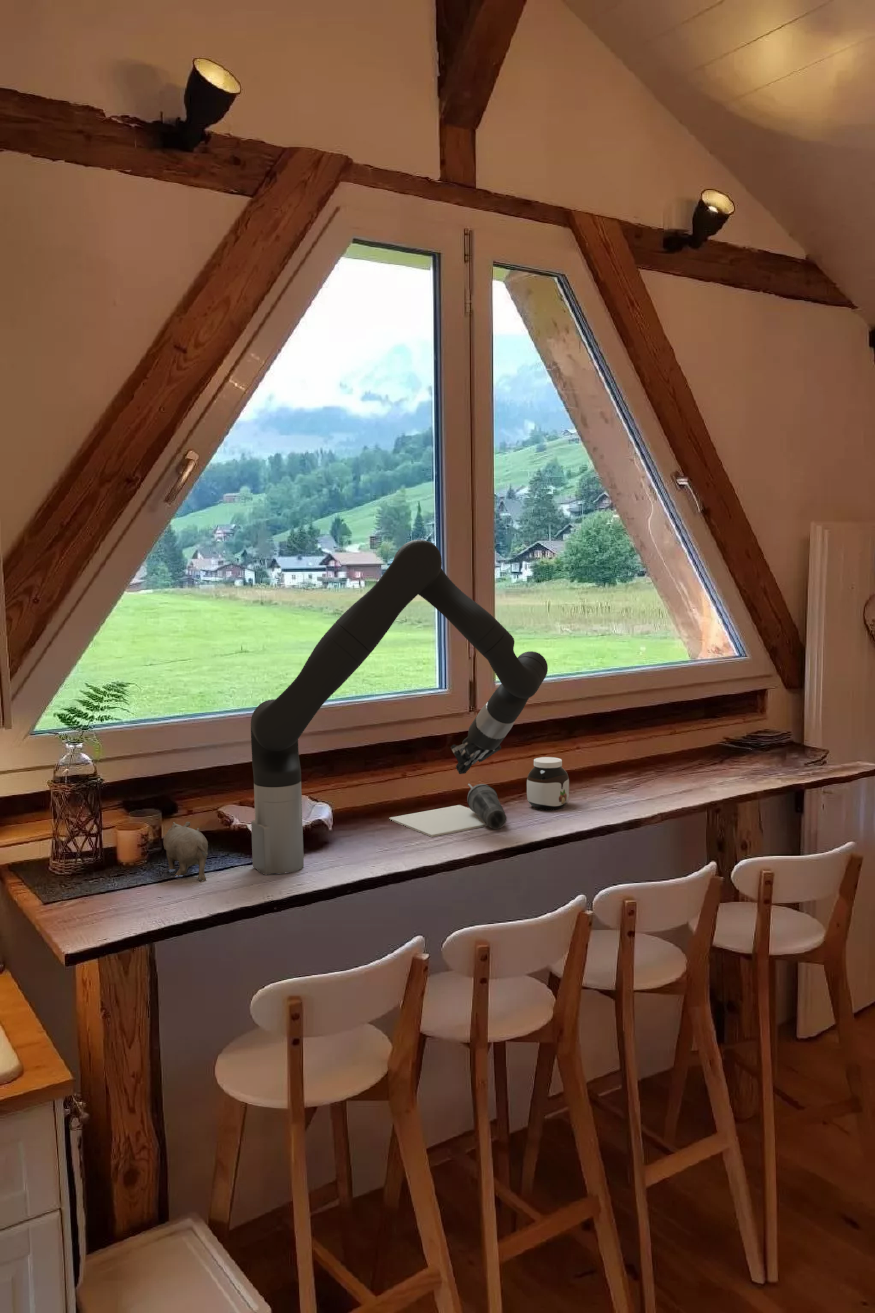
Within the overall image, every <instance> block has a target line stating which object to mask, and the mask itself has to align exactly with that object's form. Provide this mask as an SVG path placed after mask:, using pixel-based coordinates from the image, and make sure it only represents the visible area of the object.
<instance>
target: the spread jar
mask: <svg viewBox="0 0 875 1313" xmlns="http://www.w3.org/2000/svg"><path fill="white" fill-rule="evenodd" d="M568 774H569V773H568V772H567V771H566V770H565V768H564V767H563V759H562V758H559V757H553V756H541V757H536V758H534V759H533V768H531V770H530V771H529V772H528V773H527V778H526V799H527V801H528V803H529V805H530V806H532V807H533V808H534V809H535V810H539V811H550V812H551V811H557V810H561V809H563V807H565V806H566V804H567V803H568V801H569V797H570V796H569V795H570V778H569V775H568Z"/></svg>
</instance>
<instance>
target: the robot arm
mask: <svg viewBox="0 0 875 1313" xmlns="http://www.w3.org/2000/svg"><path fill="white" fill-rule="evenodd" d="M442 564H443V561H442V555H441V552H440V550H439V548H438V546H437V545H436V544H434V543H432V542H431V541H428V540H425V539H413V540H410V541H408V542H406V543H404V544H403V545H402V546H401V547H400V548H399V549H398V550H397V551H396V553H395V555H394V557H393V560H392V561H391V563H390V564H389V566H388V567H387V568H386V570H385V571H384V573H383V574H382V575H381V577H380V578H379V580H377V581H376V583H375V584H374V585H373V586H372V587H371V588H370V589H369V590H368V591H367V592H366V593H365V594H363V596H361V597H360V598H359V599H358V600H356V601H355V603H353V604H352V605H351V606H350V607H349V608H348V609H347V610H346V611H345V612H343V614H342V615H340V617H339V618H338V619H337V620H336V621H335V623H333V624H332V625H331V626H330V628H329V629H328V630H327V631H326V632H325V633H324V635H323V636H322V637H321V638H320V640H319V641H318V643H317V644H316V645H315V647H314V648H313V650H312V651H311V653H310V655H309V657H308V658H307V660H306V661H305V664H304V665H303V666H302V669H301V670H300V672H299V673H298V675H297V677H296V678H295V679H294V680H293V681H292V682H291V683H290V685H289V686H287V687H286V689H285V690H284V691H282V693H281V694H280V695H278V696H277V697H276V698H275V699H274V698H272V699H268V700H265V701H263V702H260V703H259V704H258V706H257V707H256V708H255V709H254V711H253V712H252V715H251V717H250V741H251V742H250V743H251V746H250V747H251V764H252V772H253V773H252V774H253V794H254V798H253V800H254V819H252V820H251V823H250V825H251V826H250V827H251V849H252V850H251V853H252V859H251V860H252V868H253V867H254V868H253V869H255V868H256V869H257V871H258V872H260V873H261V872H262V873H261V874H263V873H264V874H268V875H272V874H271V873H284V874H286V873H285V872H290V873H294V872H298V871H300V870H302V869H303V868H304V866H305V864H304V861H305V860H304V858H305V857H304V834H303V833H304V832H303V801H302V800H303V798H302V797H303V795H302V791H303V790H302V767H301V761H300V751H299V738H300V737H301V735H302V734H303V733H304V731H305V730H306V728H307V727H308V725H309V724H310V722H311V721H312V720H313V718H314V717H315V715H317V714H318V711H319V710H320V708H322V706H323V705H324V704H325V703H326V701H328V699H329V698H330V697H331V696H332V695H333V694H334V693H335V692H337V691H338V689H339V688H341V686H342V685H343V684H344V683H345V682H346V681H347V680H348V679H349V678H350V677H351V676H352V674H354V672H355V671H356V670H358V668H360V666H361V665H362V664H363V663H364V662H365V660H366V659H367V658H368V657H369V656H370V654H371V653H372V652H373V651H374V650H375V648H376V647H377V646H378V645H379V643H380V642H381V641H382V639H383V638H384V636H385V635H386V634H387V633H388V631H390V629H391V627H392V625H393V624H394V623H395V621H396V620H397V618H398V616H399V615H400V613H402V611H403V610H404V609H405V608H406V607H407V606H408V605H409V604H410V603H411V602H412V601H413V600H414V599H415V598H416V597H417V596H420V597H421V598H422V599H424V600H425V601H426V602H428V603H429V604H430V605H431V606H433V608H435V609H436V610H437V611H438V612H439V613H440V614H442V615H443V617H445V618H446V620H448V622H449V623H450V624H452V625H453V627H454V628H455V629H456V630H457V631H458V632H459V634H461V635H462V636H463V637H464V638H465V639H466V640H467V641H468V643H470V644H471V645H472V646H473V647H474V649H476V651H478V652H479V654H481V655H482V656H483V657H484V659H486V660H487V662H488V663H489V665H490V667H491V669H492V671H493V672H494V674H495V675H496V677H497V679H498V680H499V682H500V684H499V686H498V687H497V688H496V689H495V690H494V692H493V693H492V694H491V695H490V698H489V699H488V701H487V702H486V703H485V704H484V705H483V706H482V707H481V709H480V710H479V712H478V714H477V715H476V717H475V718H474V719H473V721H472V723H471V724H470V726H469V727H468V732H467V737H465V738H464V739H463V740H462V744H459V745H456V744H452V745H451V746H450V749H451V751H452V753H453V755H454V757H455V759H456V760H457V763H456V765H455V768H456V770H457V773H458V774H459V775H464V774H467V773H468V771H469V770H470V768H471V767H472V766H473V765H475V764H476V763H477V762H479V763H481V762H483V761H485V760H486V759H488V758H489V757H491V756H493V755H494V754H495V753H497V752H498V751H500V750H501V749H502V746H501V745H500V744H501V743H502V742H503V741H504V739H505V738H506V736H507V735H508V733H509V732H510V731H511V730H512V728H513V726H514V724H515V723H516V720H517V719H518V717H519V716H520V715H521V713H522V712H523V710H524V709H525V706H526V705H527V702H528V700H530V699H529V698H531V697H533V696H534V695H535V694H537V691H538V690H539V688H540V687H541V685H542V683H543V682H544V680H545V679H546V677H547V675H548V671H549V670H548V669H549V667H548V662H547V660H546V658H545V657H544V656H543V655H542V654H541V653H539V652H537V651H533V650H532V651H531V650H530V651H529V650H528V651H526V652H522V653H521V654H520V655H518V656H517V655H516V653H515V651H514V650H515V649H514V648H515V638H514V636H513V635H512V634H511V633H510V632H509V631H508V630H507V629H506V628H505V627H504V626H503V625H502V624H501V623H500V622H499V621H498V620H497V619H496V618H495V616H493V615H492V614H491V613H490V612H488V611H487V610H486V609H485V608H484V607H483V606H481V605H480V604H478V602H477V601H475V600H473V599H472V598H471V597H469V596H468V595H467V594H466V593H464V592H463V591H462V590H461V589H460V588H459V587H458V586H457V585H456V584H455V583H454V582H453V581H452V580H451V578H450V577H449V576H448V575H447V574H446V573H445V571H444V570H443V568H442V567H443V566H442ZM302 867H303V868H302ZM256 869H255V870H256ZM299 869H300V870H299ZM264 874H263V875H264Z"/></svg>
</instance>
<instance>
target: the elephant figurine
mask: <svg viewBox="0 0 875 1313" xmlns="http://www.w3.org/2000/svg"><path fill="white" fill-rule="evenodd" d="M190 826H191V822H190V821H186V822H185V824H183V825H181V824H178V823H176V822H174V821H173V822H172V825H171V827H170V828H168V830H167V832H166V834H164V837H163V840H162V844H163V849H164V850H165V851H166V852H165V853H166V858H167V862H168V867H169V868H168V869H176V865H175V863H176V862H178V865H179V868H178V869H177V872H176V873H175V874H174V876H175V875H178V876H179V875H184V874H185V875H186V874H187V873H188V869H189V867H191V866H193V865H196V866H197V865H198V877H197V880H200V881H201V880H204V881H205V880H206V879H207V877H206V874H205V868H206V863H207V862H206V861H207V858H208V855H209V853H208V849H209V845H208V844H209V841H208V840H207V838H206V837H205V835H204V834H203V833H202V832H201V831H199V830H200V828H199V827H197V828H196V829H194V828H192V827H190Z"/></svg>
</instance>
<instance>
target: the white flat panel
mask: <svg viewBox="0 0 875 1313" xmlns="http://www.w3.org/2000/svg"><path fill="white" fill-rule="evenodd" d="M389 819H390V820H389ZM388 820H389V821H391V820H392V821H391V822H393V821H394V822H393V823H396V824H397V825H398V824H399V825H401V826H403V825H404V826H403V827H405V826H406V827H405V828H407V829H410V830H413V831H416V832H419V833H420V834H423V835H425V836H427V837H428V836H429V837H430V838H434V837H439V836H444V835H449V834H453V833H454V834H455V833H459V832H465V831H468V830H474V829H480V828H484V827H489V826H488V825H487V824H486V823H485V822H484V821H483V820H482V819H481V818H480V817H479V816H478V814H476V813H475V812H473V811H472V810H471V809H470V808H469V807H467V806H464V805H461V804H457V805H451V806H446V807H441V808H436V809H430V810H424V811H419V812H413V813H408V814H402V815H398V816H397V815H396V816H391V817H389V818H388Z"/></svg>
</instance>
